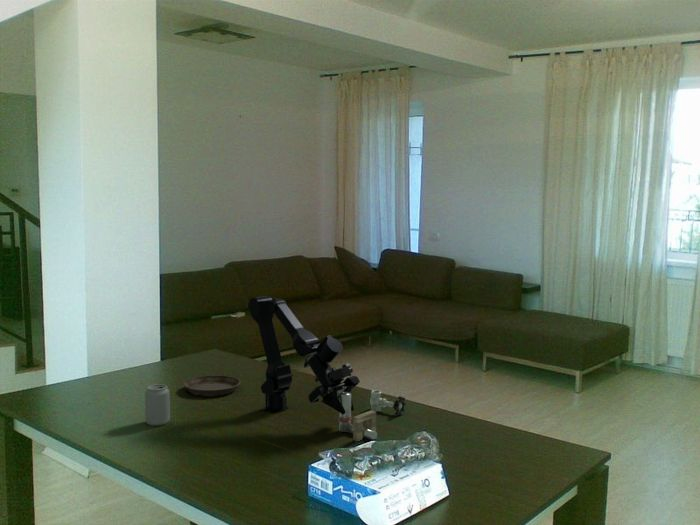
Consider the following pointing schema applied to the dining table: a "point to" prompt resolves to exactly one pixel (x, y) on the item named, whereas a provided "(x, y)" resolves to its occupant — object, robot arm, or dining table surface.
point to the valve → (386, 403)
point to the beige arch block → (358, 424)
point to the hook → (350, 417)
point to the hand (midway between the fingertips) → (348, 412)
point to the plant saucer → (211, 385)
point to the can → (157, 405)
